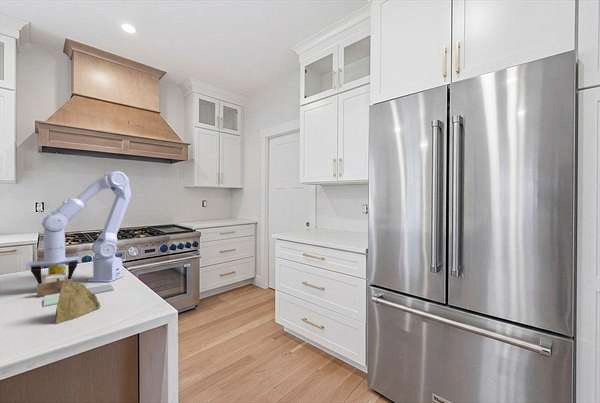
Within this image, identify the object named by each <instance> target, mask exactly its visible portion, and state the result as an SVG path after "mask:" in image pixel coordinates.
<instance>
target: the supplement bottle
mask: <svg viewBox="0 0 600 403" xmlns="http://www.w3.org/2000/svg"><path fill="white" fill-rule="evenodd" d="M61 263H62V262H61ZM66 266H67V264H60V265H52V266H47V267H48V275H50V274H57V273H64V276H66V274H67V269H66V268H67V267H66Z"/></svg>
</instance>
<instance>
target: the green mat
mask: <svg viewBox="0 0 600 403" xmlns="http://www.w3.org/2000/svg"><path fill="white" fill-rule="evenodd" d="M58 300H59V295H57V296H56V295H55V296H52V297H46V298H45V297H44V298H43V307H48V306H49V307H50V306H54V305H58Z"/></svg>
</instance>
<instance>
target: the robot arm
mask: <svg viewBox="0 0 600 403" xmlns="http://www.w3.org/2000/svg"><path fill="white" fill-rule="evenodd" d="M106 189H111V191H112V192H113V194H114V195H115V197H114V200H113V203H112V206H111V208H110V211H109V213H108V216H107V219H106V221H105V223H104V227H103V228H102V232H101V233H100V234H99V235H98V237H97V239H96V240H95V241H94V242H93V243H92V245H91V251H92V253H94V255H93V257H92V260H93V261H92V262H93V263H92V265H93V266H92V267H93V268H92V273H93V275H92V277H93V278H89V279H87V282H98V283H99V282H100V283H103V282H106V283H111V282H113V281H116V280H117V279H120V278H123V277H124V274H123V260H122V258H121V257H117V256H116V253H117V250H118V249H117V242H118V236H117V235H118V232H119V230H120V227H121V224H122V221H123V219H124V217H125V213H126V211H127V209H128V205H129V203H130V200H131V198H132V190H131V186H130V179H129V178H128V176H127V175H126V174H125V173H124V172H122V171H119V170H116V171H108V172H106V173H105V174H103V175H102V176H100V177H98V178H97V179H96V180H95V181H93V182H92V183H91V184H90V185H89V186H88V187H86V189H85V190H84V191H82V192H81V193H80V194H79V195H78V196H77V197H76V198H68V199H64V200H63V201H62V204H61V205H60V206H59V207H57V208H56V209H55V210H51V211H50V213H51V214H50V215H47V216H45V217H44V218H43V219H42V222H41V226H42V227H43V229H44V231H43V234H44V235H43V259H41V260H33V261H29V262H26V263H25V264H26V265H25V266H26V270H29V269H30V272H31V274H32V275H33V276H34V278H35V279H36V281H37V284H42V283H43V279H42V268H44V267H48V266H52V265H60V264H66V265H67V266H68V267H67V270H68V271H67V272H68V275H67V280H68V279H72V277H73V274H74V272H75V270H76V268H77V266H78V263H81V262H82V258H81V256H80V255H79V256H70V257H68V256H67V257H66V234H65V228H66V227H67V225H68V222H71V221H72V219H74V218H75V217H76V216H78V214H79V213H81V212H82V211H83V210H84V209H85V207H84V205H85V203H87V202H88V201H89V200H91V199H92V198H93V197H94V196H96V195H97V194H98V193H99V192H101V191H102V190H106ZM61 262H62V263H61Z"/></svg>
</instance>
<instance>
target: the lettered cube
mask: <svg viewBox="0 0 600 403" xmlns="http://www.w3.org/2000/svg"><path fill="white" fill-rule="evenodd" d="M65 276H66V275H64V273H57V274H50V275H49V274H46V275H45V283H49V282H55V281H61V280H66V279H65Z"/></svg>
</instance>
